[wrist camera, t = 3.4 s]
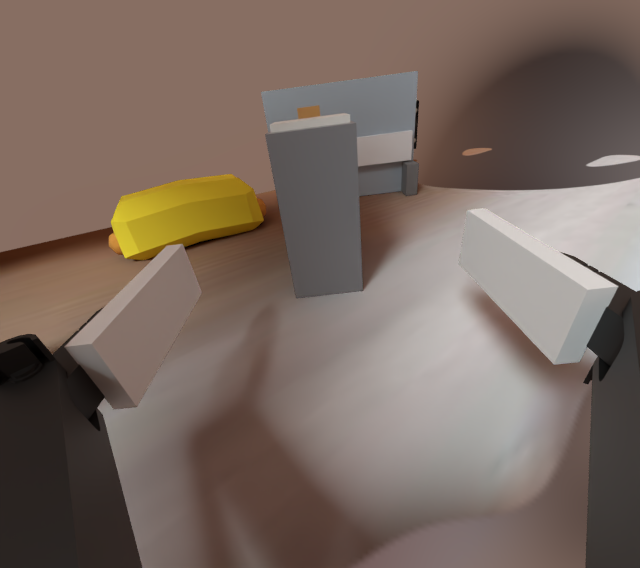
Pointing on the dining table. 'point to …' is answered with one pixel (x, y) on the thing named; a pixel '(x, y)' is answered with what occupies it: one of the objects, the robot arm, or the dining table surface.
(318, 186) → the block
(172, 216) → the yellow faceted gourd
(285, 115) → the rail panel
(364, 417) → the dining table surface
